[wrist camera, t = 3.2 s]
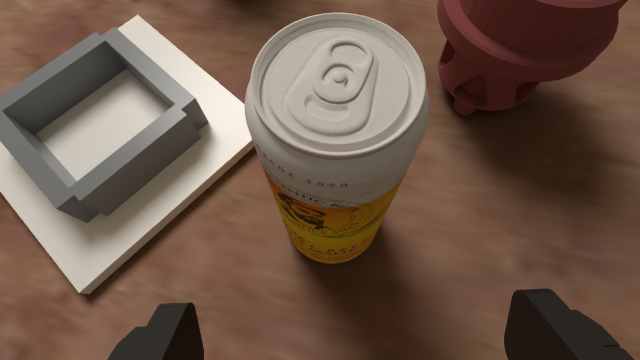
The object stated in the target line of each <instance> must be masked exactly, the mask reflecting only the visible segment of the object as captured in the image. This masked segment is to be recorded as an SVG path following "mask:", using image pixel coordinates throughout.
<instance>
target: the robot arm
mask: <svg viewBox="0 0 640 360" xmlns="http://www.w3.org/2000/svg"><path fill="white" fill-rule="evenodd" d="M504 345H505V351H506V355H507V357H508V360H634V359H633V358H632V357H631V356H630V355H629V354H628V353H627V352H626V351H625V350H624V349H621V348H620V346H619V345H620V344H619V343H618V342H617V341H616V340H615V339H614V338H613V337H612V336H611V335H610V334H609V333H608V332H607V331H606V330H605V329H604V328H603V327H602V326H601V325H599V324H598V323H596V322H595V321H593V320H592V319H590V318H589V317H587V316H586V315H584V314H582V313H581V312H579V311H578V310H570V309H569V307H568V306H567V305H566V304H565V303H564V302H563V301H562V300H561V299H560V298H559V297H558V296H557V294H556V293H555V292H553V291H552V290H550V289H529V290H516V291H515V292H514V293H513V296H512V300H511V305H510V310H509V315H508V320H507V325H506V330H505V335H504ZM108 360H204V348H203V343H202V338H201V334H200V329H199V324H198V319H197V314H196V310H195V306H194V304H193V303H168V304H160V305H159V306H158V307H157V309H156V310H155V312H154V314H153V316H152V317H151V319H150V321H149V323H148V324H147V326H145V327H136V328H135V329H133V330H132V331H131V332H130V333H129V334H128V335H127V336H126V337H125V338H123V339H122V340H121V341H120V342H119V343H118V344H117V345H116V347H115V348H114V350H113V352H112V353H111V355H110V356H109V358H108Z"/></svg>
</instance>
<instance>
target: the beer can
mask: <svg viewBox="0 0 640 360" xmlns="http://www.w3.org/2000/svg"><path fill="white" fill-rule="evenodd" d="M429 115H430V101H429V94H428V90H427V87H426V78H425V72H424V68H423V65H422V62H421V60H420V58H419V56H418V54H417V53H416V51H415V49H414V48H413V47H412V45H411V44H410V43H409V42H408V41H407V40H406V39H405V38H404V37H403V36H402V35H401V34H399V33H398V32H397V31H396V30H394V29H393V28H391V27H389V26H388V25H386V24H384V23H382V22H380V21H377V20H375V19H372V18H369V17H366V16H361V15H357V14H350V13H325V14H318V15H314V16H310V17H306V18H303V19H300V20H298V21H296V22H294V23H291V24H290V25H288V26H286V27H284V28H283V29H281V30H280V31H279V32H277V33H276V34H275V35H274V36H273V37H271V38H270V39H269V41H268V42H267V43H266V44H265V45H264V46H263V48H262V49H261V51H260V52H259V54H258V56H257V58H256V60H255V63H254V65H253V69H252V73H251V79H250V82H249V85H248V87H247V91H246V96H245V117H246V123H247V126H248V129H249V132H250V135H251V137H252V140H253V143H254V145H255V148H256V151H257V153H258V156H259V159H260V161H261V164H262V166H263V169H264V172H265V174H266V177H267V180H268V182H269V185H270V188H271V190H272V193H273V195H274V198H275V201H276V203H277V206H278V209H279V211H280V214H281V216H282V219H283V222H284V224H285V227H286V230H287V232H288V235H289V237H290V239H291V241H292V242H293V244H294V245H295V246H296V248H297V249H298V250H299V251H300V252H301V253H303V254H304V255H305V256H307V257H309V258H311V259H313V260H315V261H318V262H322V263H331V264H333V263H342V262H346V261H349V260H351V259H353V258H355V257H357V256H359V255H360V254H361V253H363V252H364V251H365V250H366V249H367V248H368V246H369V245H370V244H371V242H372V240H373V239H374V237H375V234H376V232H377V230H378V228H379V226H380V224H381V222H382V220H383V218H384V216H385V214H386V212H387V210H388V208H389V206H390V204H391V202H392V200H393V198H394V196H395V194H396V192H397V190H398V188H399V186H400V183H401V181H402V179H403V177H404V175H405V173H406V171H407V169H408V167H409V165H410V163H411V161H412V159H413V157H414V155H415V153H416V151H417V149H418V147H419V145H420V143H421V141H422V138H423V136H424V134H425V132H426V129H427V125H428V122H429Z"/></svg>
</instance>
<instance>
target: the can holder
mask: <svg viewBox="0 0 640 360" xmlns="http://www.w3.org/2000/svg"><path fill="white" fill-rule="evenodd" d="M254 146H255V145H254V143H253V140H252V137H251V135H250V132H249V129H248V126H247V123H246V117H245V105H244V104H243V103H242V102H241V101H240V100H238V99H237V98H236V97H235V96H234V95H232V94H231V93H230V92H229V91H228V90H226V89H225V88H224V87H223V86H222V85H221V84H219V83H218V82H217V81H216V80H215V79H213V78H212V77H211V76H210V75H209V74H207V73H206V72H205V71H204V70H203V69H201V68H200V67H199V66H198V65H197V64H196V63H194V62H193V61H192V60H191V59H190V58H188V57H187V56H186V55H185V54H184V53H182V52H181V51H180V50H179V49H178V48H176V47H175V46H174V45H173V44H172V43H171V42H169V41H168V40H167V39H166V38H165V37H163V36H162V35H161V34H160V33H159V32H157V31H156V30H155V29H154V28H153V27H151V26H150V25H149V24H148V23H147V22H146V21H144V20H143V19H142V18H141V17H140V16H138V15H137V16H136V17H134V18H133V19H131V20H130V21H128V22H127V23H125V24H124V25H122V26H121V27H119V28H118V29H117V28H115V27H113V28H112V29H110V30H109V31H107V32H106V33H104V34H103V35H101V36H100V35H99V34H98V33H97V32H95V33H93V34H92V35H90V36H89V37H87V38H86V39H84V40H83V41H81V42H80V43H78V44H77V45H75V46H74V47H72V48H71V49H69V50H68V51H66V52H65V53H63V54H62V55H60V56H59V57H57V58H56V59H54V60H53V61H51V62H50V63H48V64H47V65H45V66H44V67H42V68H41V69H39V70H38V71H36V72H35V73H33V74H32V75H30V76H29V77H27V78H26V79H24V80H23V81H21V82H20V83H18V84H17V85H15V86H14V87H12V88H11V89H9V90H8V91H6V92H5V93H3V94H2V95H0V192H1V193H2V194H3V196H4V197H5V198H6V200H7V201H8V202H9V203H10V205H11V206H12V207H13V209H14V210H15V211H16V212H17V214H18V215H19V216H20V218H21V219H22V220H23V221H24V223H25V224H26V225H27V227H28V228H29V229H30V230H31V232H32V233H33V234H34V236H35V237H36V238H37V239H38V241H39V242H40V243H41V245H42V246H43V247H44V248H45V250H46V251H47V252H48V254H49V255H50V256H51V257H52V259H53V260H54V261H55V263H56V264H57V265H58V266H59V268H60V269H61V270H62V272H63V273H64V274H65V275H66V277H67V278H68V279H69V281H70V282H71V283H72V284H73V286H74V287H75V288H76V290H77V291H78V292H79V293H83V294H90V293H91V292H92V291H93V290H94V289H96V288H97V287H98V286H99V285H100V284H101V283H102V282H103V281H105V280H106V279H107V278H108V277H109V276H110V275H111V274H112V273H113V272H115V271H116V270H117V269H118V268H119V267H120V266H121V265H122V264H124V263H125V262H126V261H127V260H128V259H129V258H130V257H131V256H132V255H134V254H135V253H136V252H137V251H138V250H139V249H140V248H141V247H143V246H144V245H145V244H146V243H147V242H148V241H149V240H150V239H151V238H153V237H154V236H155V235H156V234H157V233H158V232H159V231H160V230H162V229H163V228H164V227H165V226H166V225H167V224H168V223H169V222H171V221H172V220H173V219H174V218H175V217H176V216H177V215H178V214H179V213H181V212H182V211H183V210H184V209H185V208H186V207H187V206H188V205H190V204H191V203H192V202H193V201H194V200H195V199H196V198H197V197H198V196H200V195H201V194H202V193H203V192H204V191H205V190H206V189H207V188H209V187H210V186H211V185H212V184H213V183H214V182H215V181H216V180H217V179H219V178H220V177H221V176H222V175H223V174H224V173H225V172H226V171H228V170H229V169H230V168H231V167H232V166H233V165H234V164H235V163H236V162H238V161H239V160H240V159H241V158H242V157H243V156H244V155H245V154H247V153H248V152H249V151H250V150H251V149H252V148H253V147H254Z"/></svg>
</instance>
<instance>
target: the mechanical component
mask: <svg viewBox="0 0 640 360" xmlns="http://www.w3.org/2000/svg"><path fill="white" fill-rule="evenodd" d="M626 2H627V0H438V6H437V13H438V20H439V24H440V26H441V29H442V31H443V33H444V35H445V36H446V38H447V41H446V44H445V46H444V49H443V51H442V54H441V56H440V59H439V64H438V70H439V76H440V78H441V81H442V83H443V84H444V86H445V88H446V89H447V90H448V91H449V92H450V93H451V94H452V95H453V96H454V97H455V101H454V104H453V107H454V109H455V111H456V112H457V113H459V114H461V115H465V116H467V115H471V114H472V113H474V111H475V110H476V109H481V110H488V111H500V110H506V109H509V108H512V107H515V106H517V105H518V104H520V103H522V102H523V101H524V100H525V99H526V98H527V97H528V96H529V95H530V93H531V92H532V91H533V90H534V89H535V88H536V86H537V85H538V84H539V83H540V82H546V81H553V80H559V79H563V78H566V77H569V76H572V75H574V74H576V73H578V72H580V71H582V70H583V69H584V68H586V67H587V66H588V65H590V64H591V63H592V62H593V61H594V60H595V58H596V57H597V56H598V55H599V54H600V53H601V52H602V51H603V50H604V49H605V48H606V47H607V46H608V45H609V44H610V42H611V41H612V39H613V38H614V35H615V33H616V31H617V26H618V10H619V9H620V8H621V7H622V6H623V5H624V4H625V3H626Z"/></svg>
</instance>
